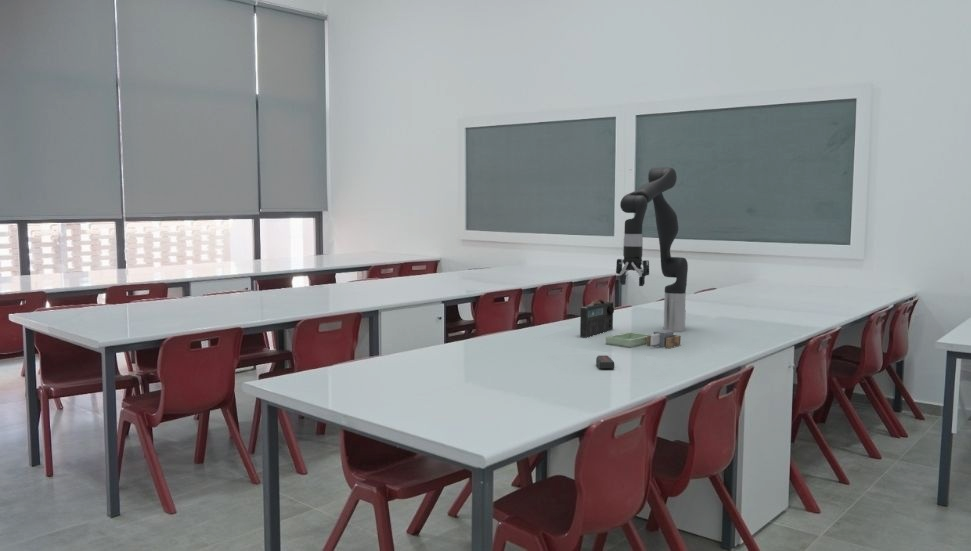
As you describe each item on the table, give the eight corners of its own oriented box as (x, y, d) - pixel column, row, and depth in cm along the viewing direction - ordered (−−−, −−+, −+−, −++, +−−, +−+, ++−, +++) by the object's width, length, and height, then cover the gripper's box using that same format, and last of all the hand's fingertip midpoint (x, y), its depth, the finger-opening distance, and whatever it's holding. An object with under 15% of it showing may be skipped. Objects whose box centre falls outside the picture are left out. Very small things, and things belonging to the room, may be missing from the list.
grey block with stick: (662, 344, 325) (662, 329, 325) (672, 345, 322) (673, 331, 321) (646, 348, 316) (646, 333, 316) (657, 349, 313) (657, 334, 312)
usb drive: (599, 368, 276) (599, 360, 276) (594, 361, 288) (594, 354, 288) (614, 368, 276) (614, 360, 276) (609, 361, 288) (609, 354, 288)
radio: (588, 338, 340) (589, 291, 338) (580, 337, 343) (580, 291, 341) (615, 331, 361) (615, 287, 359) (606, 330, 363) (607, 286, 361)
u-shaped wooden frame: (659, 342, 328) (660, 333, 328) (680, 345, 322) (680, 335, 322) (647, 345, 321) (647, 336, 321) (667, 348, 315) (668, 338, 314)
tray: (629, 339, 337) (629, 332, 337) (653, 342, 329) (653, 335, 329) (605, 344, 324) (605, 337, 324) (630, 347, 316) (630, 340, 316)
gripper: (653, 245, 316) (652, 286, 317) (623, 244, 325) (622, 283, 327) (643, 246, 310) (642, 287, 311) (612, 244, 320) (612, 284, 321)
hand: (632, 285), depth 319 cm, fingers open, 8 cm apart
